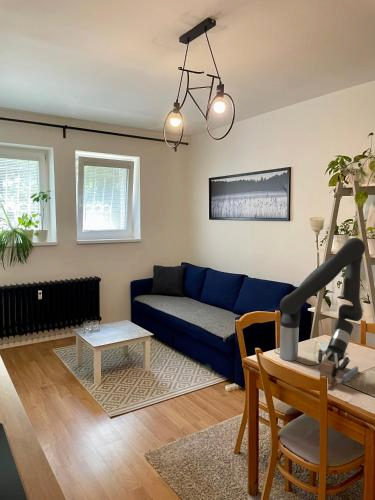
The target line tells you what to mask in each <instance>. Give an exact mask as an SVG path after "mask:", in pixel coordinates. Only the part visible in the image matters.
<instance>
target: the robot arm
mask: <svg viewBox="0 0 375 500" xmlns="http://www.w3.org/2000/svg"><path fill="white" fill-rule="evenodd" d="M365 251H366V245H365V241H363V239H361V238H358V237H351V238H349V239H348V240H346V241H345V243H344V244H343V245H342V247H340V249H339V250H338V251H337V252H336V253H335V254H334V255H333V256H332V257H330V258H328V259H327V260H326V261H324V262H323V263H321V264H320V265H319V266H317V267H316V268H314V270H313V271H312V272H311V273H310V274H308V275H307V276H306V278H305V279H304V280H303V281H302V282H301V283H300V285H299V286H298V287H297V288H296V289H295V290H293V291H292V292H291V293H289V294H287V295H285V296H284V297H282V299H280V300H281V301H280V303H279V309H280V311H281V318H280V332H279V334H280V335H279V356H278V357H279V358H280V359H281V360H284V361H288V362H292V361H293V362H294V361H297V360H298V357H299V355H298V354H299V336H300V335H299V333H300V332H299V331H300V328H299V327H300V320H301V311H302V310H301V308H302V305H304V304H305V303H306V302H307V301H308V300H309V299H310V298H311V297H313V296H315V295H316V294H318V293H319V292H320V291H322V290H323V289H325V288H326V286H328V285H329V284H330V283H331V282H332V281H334V279H336V277H337V276H338V275H339V274H341V272H342V271H343V270H344V269H345V268H346V270H345V276H344V277H345V278H344V284H343V299H344V300H346V301H348V302H350V303H351V304H345V303H343V304H341V305H340V306H339V307H338V316H337V323H336V327H335V329H334V331H333V332H332V335H331V337H330V340H329V342H328V343H329V345H328V348H327V349H326V350H325V351H323V350H322V349H321V348H320V349H319V350H318V354H317V355H318V357H317V362H318V363H319V365H320V364H321V362H323V361H324V360H328V361H332V362H335V363H336V365H335V368H334V370H333V373H332V377H334V378H335V377H336V378H337V376H338V373H339V371H341V370H342V372H344V371H343V370H344V369H345V368H347V366H348V365H349V363H350V361H351V359H350V358H349V357H348V356H345V354H346V352H347V348H348V345H349V344H350V343H349V342H350V339H351V336H352V333H353V329H354V325H353V323H351V322H350V321H354V322H360V321H361V320H362V318H363V309H362V304H361V300H360V298H361V297H360V294H361V267H362V260H363V256H364V254H365ZM348 320H349V321H348ZM324 355H325V356H324ZM323 357H324V358H323ZM342 360H343V361H342ZM341 361H342V363H341V364H340V362H341ZM318 371H319V372H320V367H319V368H318Z"/></svg>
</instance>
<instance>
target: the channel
mask: <svg viewBox="0 0 375 500" xmlns="http://www.w3.org/2000/svg"><path fill="white" fill-rule="evenodd" d="M340 371H342V370H340ZM342 372H345V373H344V375H343V376H342V377H341V378H342V379H341V381H342V383H346V382H347V381H349V380H350V379H351V378H352V377H353V376H355V375H356V374H357V373H358V372H359V366H357V365H355V366H353V368H348V367H346V368H345V369H344V370H343V371H342ZM348 379H349V380H348Z"/></svg>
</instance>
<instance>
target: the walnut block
mask: <svg viewBox="0 0 375 500" xmlns="http://www.w3.org/2000/svg"><path fill="white" fill-rule="evenodd" d="M335 365H336V363H335V362H332V361H328V360H324V361H323V362H321V364H320V363H319V368H320V371H319V377H320V376H325V377H327V378H328V389H327V390H330V389H332V388H333V387H334V386H335V385H337V384H338V379H336V378H337V376H336V377H335V378H334V377H332V373H333V370H334V368H335Z"/></svg>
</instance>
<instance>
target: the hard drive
mask: <svg viewBox="0 0 375 500" xmlns="http://www.w3.org/2000/svg"><path fill="white" fill-rule="evenodd" d="M328 345H329V342H318V347H319V348H320V349H321V350H322V351H325V350H326V349H327V348H328Z"/></svg>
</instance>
